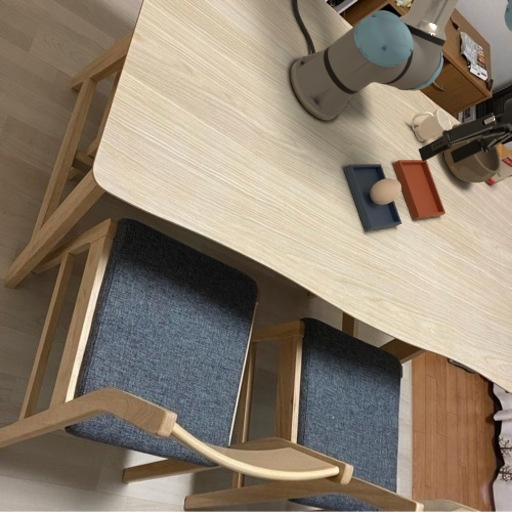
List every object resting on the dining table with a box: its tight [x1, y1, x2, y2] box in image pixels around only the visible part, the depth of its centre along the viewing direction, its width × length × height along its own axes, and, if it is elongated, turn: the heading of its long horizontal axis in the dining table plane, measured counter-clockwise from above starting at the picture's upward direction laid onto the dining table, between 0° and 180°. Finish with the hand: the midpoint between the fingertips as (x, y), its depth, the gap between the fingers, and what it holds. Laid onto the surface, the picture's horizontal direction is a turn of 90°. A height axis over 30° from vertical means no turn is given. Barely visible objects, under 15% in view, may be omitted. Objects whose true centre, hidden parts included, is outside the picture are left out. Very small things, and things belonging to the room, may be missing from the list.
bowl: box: [443, 119, 501, 184], centre depth 163 cm, size 17×18×10 cm
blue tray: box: [343, 163, 403, 232], centre depth 132 cm, size 15×12×2 cm
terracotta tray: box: [392, 159, 447, 221], centre depth 147 cm, size 15×13×2 cm
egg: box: [370, 178, 402, 205], centre depth 129 cm, size 6×6×8 cm
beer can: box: [485, 153, 512, 185], centre depth 172 cm, size 6×6×16 cm
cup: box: [411, 108, 453, 142], centre depth 154 cm, size 7×10×8 cm
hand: (437, 156), depth 124 cm, fingers open, 13 cm apart
